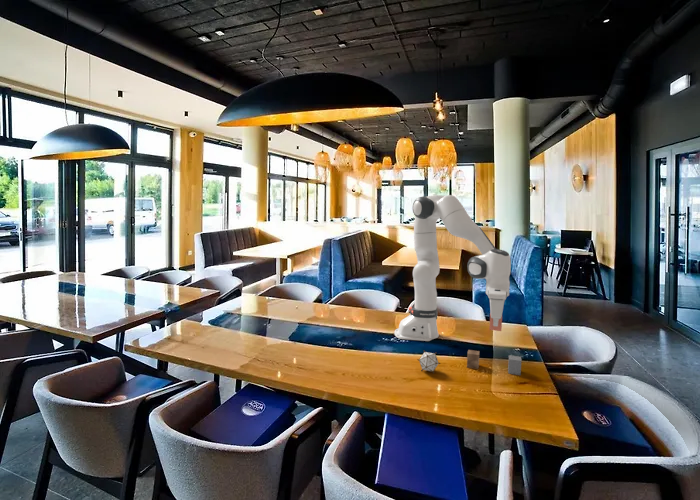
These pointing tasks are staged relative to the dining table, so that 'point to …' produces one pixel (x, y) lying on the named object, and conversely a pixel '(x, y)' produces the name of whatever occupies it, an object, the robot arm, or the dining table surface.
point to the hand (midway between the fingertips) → (495, 323)
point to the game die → (428, 361)
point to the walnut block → (473, 359)
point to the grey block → (514, 365)
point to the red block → (496, 328)
